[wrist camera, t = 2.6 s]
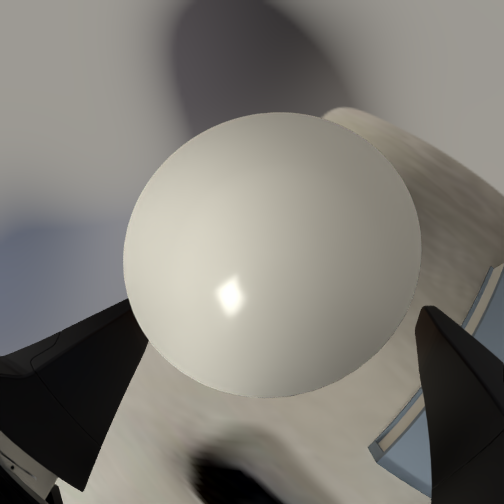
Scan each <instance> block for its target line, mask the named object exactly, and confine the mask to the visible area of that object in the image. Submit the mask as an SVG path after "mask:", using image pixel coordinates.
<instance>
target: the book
mask: <svg viewBox="0 0 504 504" xmlns="http://www.w3.org/2000/svg"><path fill="white" fill-rule="evenodd" d="M461 327H462V328H463V329H464V330H466V331H467V332H468V333H469V334H471V335H472V336H473V337H474V338H475V339H477V340H478V341H479V342H480V343H481V344H483V345H484V346H485V347H486V348H487V349H488V350H490V351H491V352H492V353H493V354H494V355H495V356H497V357H498V358H499V359H500V360H501V361H502V362H503V363H504V263H503V264H501V265H499V266H498V267H496V268H493V267H492V266H491V267H490V269H489V271H488V273H487V276H486V278H485V280H484V282H483V285H482V287H481V289H480V291H479V293H478V295H477V297H476V299H475V301H474V303H473V305H472V307H471V309H470V311H469V313H468V315H467V317H466V318H465V320H464V322H463V324H462V326H461ZM368 449H369V450H370V452H371V454H372V456H373V458H374V459H375V461H376V463H377V464H379V465H380V466H382V467H383V468H385V469H386V470H387V471H389V472H390V473H392V474H393V475H395V476H396V477H398V478H399V479H401V480H402V481H404V482H406V483H407V484H409V485H410V486H412V487H413V488H415V489H417V490H418V491H420V492H421V493H423V494H425V495H426V496H428V497H430V498H431V489H432V482H431V459H430V445H429V435H428V426H427V418H426V410H425V403H424V397H423V391H422V386H421V388H420V389H419V390H418V392H417V393H416V394H415V395H414V397H413V398H412V399H411V400H410V402H409V403H408V404H407V405H406V406H405V408H404V409H403V410H402V411H401V412H400V414H399V415H398V416H397V417H396V418H395V419H394V420H393V421H392V423H391V424H390V425H389V426H388V427H387V428H386V429H385V430H384V431H383V432H382V433H381V434H380V435H379V437H378V438H377V439H376V440H375V441H374V442H373V443H372V444H371V445H370V446H369V447H368Z"/></svg>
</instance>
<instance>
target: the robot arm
mask: <svg viewBox="0 0 504 504" xmlns="http://www.w3.org/2000/svg"><path fill="white" fill-rule="evenodd" d="M415 336H416V345H417V354H418V364H419V374H420V380H421V385H422V391H423V397H424V403H425V410H426V418H427V426H428V435H429V445H430V459H431V482H432V489H431V504H504V363H503V362H502V361H501V360H500V359H499V358H498V357H497V356H495V355H494V354H493V353H492V352H491V351H490V350H488V349H487V348H486V347H485V346H484V345H483V344H481V343H480V342H479V341H478V340H477V339H475V338H474V337H473V336H472V335H471V334H469V333H468V332H467V331H466V330H464V329H463V328H462V327H461V326H460V325H458V324H457V323H456V322H455V321H453V320H452V319H451V318H449V317H448V316H447V315H446V314H444V313H443V312H442V311H441V310H439V309H438V308H437V307H435V306H423V307H422V309H421V311H420V314H419V317H418V320H417V323H416V327H415ZM148 341H149V340H148V338H147V337H146V335H145V334H144V332H143V331H142V329H141V327H140V325H139V323H138V321H137V319H136V317H135V315H134V313H133V311H132V308H131V305H130V302H129V299H125V300H123V301H122V302H119V303H117V304H115V305H113V306H111V307H109V308H107V309H105V310H103V311H101V312H99V313H96V314H94V315H92V316H90V317H88V318H86V319H84V320H83V321H80V322H78V323H76V324H74V325H72V326H70V327H68V328H66V329H64V330H62V331H61V332H58V333H56V334H54V335H52V336H50V337H48V338H46V339H43V340H41V341H39V342H37V343H34V344H32V345H30V346H27V347H25V348H23V349H20V350H18V351H15V352H13V353H11V354H8V355H5V356H0V504H63V501H62V498H61V494H60V490H59V487H58V486H57V485H56V484H55V482H56V480H57V478H58V477H59V478H60V479H62V480H63V481H65V482H67V483H68V484H70V485H71V486H73V487H75V488H76V489H78V490H80V491H81V492H83V491H84V489H85V487H86V484H87V482H88V479H89V476H90V474H91V471H92V469H93V466H94V464H95V461H96V459H97V456H98V454H99V451H100V449H101V446H102V444H103V442H104V439H105V437H106V434H107V432H108V430H109V428H110V425H111V423H112V421H113V418H114V416H115V414H116V412H117V409H118V407H119V405H120V403H121V401H122V398H123V396H124V394H125V392H126V390H127V388H128V386H129V383H130V381H131V379H132V377H133V375H134V373H135V371H136V369H137V367H138V365H139V362H140V360H141V358H142V356H143V354H144V352H145V349H146V347H147V344H148Z"/></svg>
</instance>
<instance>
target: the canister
mask: <svg viewBox="0 0 504 504" xmlns="http://www.w3.org/2000/svg"><path fill="white" fill-rule="evenodd" d="M421 256H422V245H421V231H420V225H419V220H418V215H417V212H416V209H415V206H414V203H413V200H412V197H411V195H410V193H409V191H408V189H407V187H406V185H405V183H404V181H403V179H402V178H401V176H400V175H399V173H398V172H397V171H396V169H395V168H394V166H393V165H392V164H391V163H390V162H389V161H388V159H387V158H386V157H385V156H384V155H383V154H382V153H381V152H380V151H379V150H378V149H377V148H375V147H374V146H373V145H372V144H371V143H369V142H368V141H367V140H366V139H364V138H362V137H361V136H359V135H358V134H356V133H355V132H353V131H351V130H349V129H347V128H345V127H343V126H341V125H339V124H337V123H334V122H331V121H328V120H325V119H322V118H319V117H314V116H310V115H305V114H297V113H279V112H274V113H273V112H272V113H262V114H254V115H249V116H244V117H240V118H236V119H233V120H231V121H227V122H224V123H222V124H219V125H217V126H215V127H212V128H210V129H208V130H206V131H204V132H203V133H201V134H199V135H197V136H196V137H194V138H193V139H191V140H190V141H188V142H187V143H185V144H184V145H183V146H181V147H180V148H179V149H178V150H177V151H175V152H174V153H173V154H172V155H171V156H170V157H169V158H168V159H167V160H166V161H165V162H164V163H163V164H162V165H161V166H160V167H159V168H158V170H157V171H156V172H155V173H154V175H153V176H152V177H151V179H150V180H149V181H148V183H147V185H146V186H145V188H144V190H143V191H142V193H141V195H140V197H139V199H138V201H137V203H136V205H135V208H134V210H133V212H132V215H131V218H130V221H129V225H128V228H127V233H126V238H125V243H124V257H123V266H124V279H125V285H126V290H127V295H128V299H129V302H130V305H131V308H132V311H133V313H134V315H135V317H136V319H137V321H138V323H139V325H140V327H141V329H142V331H143V332H144V334H145V335H146V337H147V338H148V340H149V341H150V342H151V344H152V345H153V346H154V348H155V349H156V350H157V351H158V352H159V353H160V354H161V355H162V356H163V357H164V358H165V359H166V360H167V361H168V362H169V363H171V364H172V365H173V366H174V367H176V368H177V369H178V370H179V371H181V372H182V373H183V374H185V375H187V376H189V377H190V378H192V379H194V380H196V381H197V382H199V383H201V384H203V385H206V386H208V387H211V388H214V389H216V390H219V391H222V392H226V393H230V394H235V395H239V396H244V397H258V398H275V397H286V396H294V395H298V394H302V393H306V392H310V391H314V390H317V389H319V388H322V387H324V386H327V385H329V384H332V383H334V382H336V381H338V380H340V379H342V378H343V377H345V376H347V375H348V374H350V373H352V372H353V371H355V370H357V369H358V368H359V367H361V366H362V365H363V364H364V363H366V362H367V361H368V360H369V359H370V358H371V357H373V356H374V355H375V354H376V353H377V352H378V351H379V350H380V349H381V348H382V347H383V346H384V344H385V343H386V342H387V341H388V340H389V339H390V337H391V336H392V335H393V334H394V332H395V331H396V329H397V327H398V326H399V324H400V323H401V321H402V319H403V318H404V316H405V314H406V312H407V310H408V308H409V305H410V303H411V301H412V298H413V296H414V293H415V289H416V286H417V282H418V278H419V274H420V266H421Z"/></svg>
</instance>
